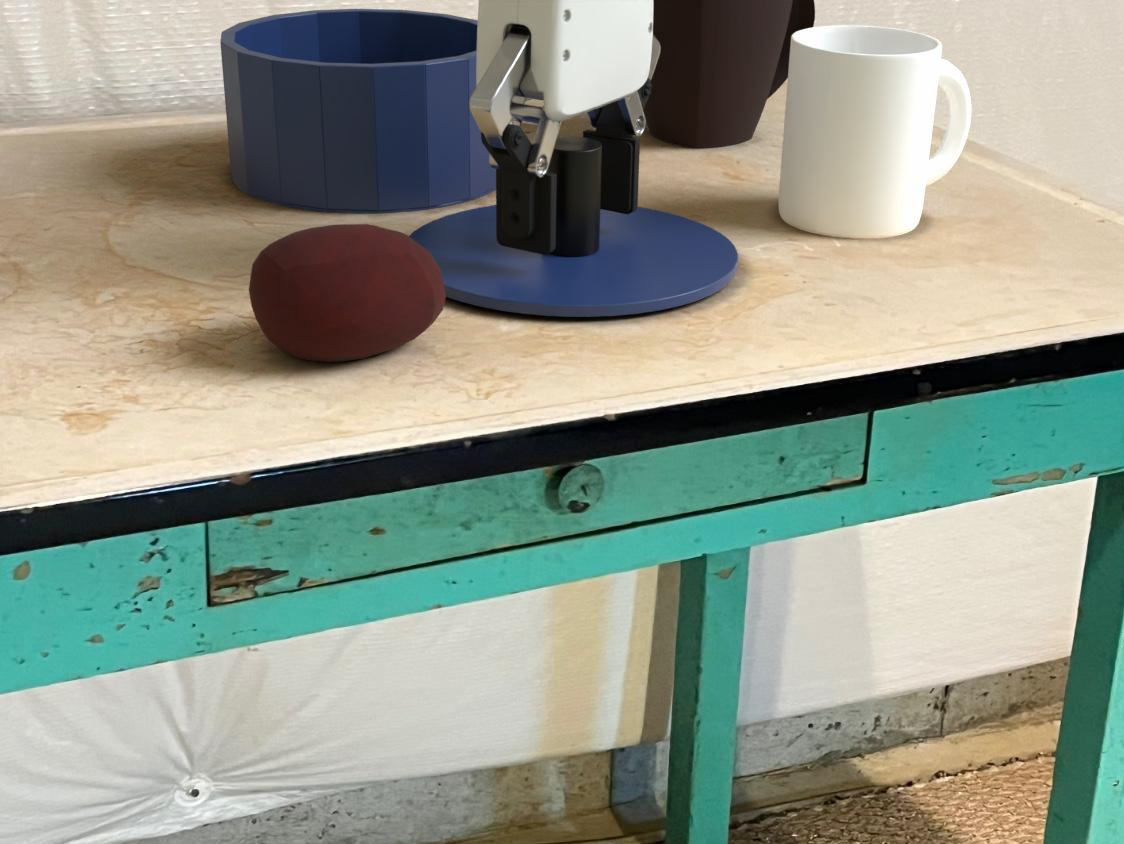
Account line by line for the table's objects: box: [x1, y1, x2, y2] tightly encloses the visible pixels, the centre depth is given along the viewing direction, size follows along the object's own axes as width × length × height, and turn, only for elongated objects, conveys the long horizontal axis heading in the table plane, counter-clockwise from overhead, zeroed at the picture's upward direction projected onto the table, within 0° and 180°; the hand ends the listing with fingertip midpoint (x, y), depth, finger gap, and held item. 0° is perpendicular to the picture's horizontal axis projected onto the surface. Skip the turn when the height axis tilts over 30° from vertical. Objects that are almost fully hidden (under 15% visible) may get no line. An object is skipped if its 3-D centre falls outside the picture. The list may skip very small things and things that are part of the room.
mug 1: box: [643, 0, 816, 150], centre depth 112 cm, size 10×14×12 cm
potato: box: [248, 223, 447, 363], centre depth 77 cm, size 8×9×6 cm
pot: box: [219, 8, 496, 215], centre depth 102 cm, size 17×17×8 cm
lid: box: [408, 135, 739, 318], centre depth 88 cm, size 18×18×7 cm
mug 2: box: [778, 24, 972, 240], centre depth 97 cm, size 12×8×10 cm
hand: (568, 226), depth 89 cm, fingers open, 7 cm apart
